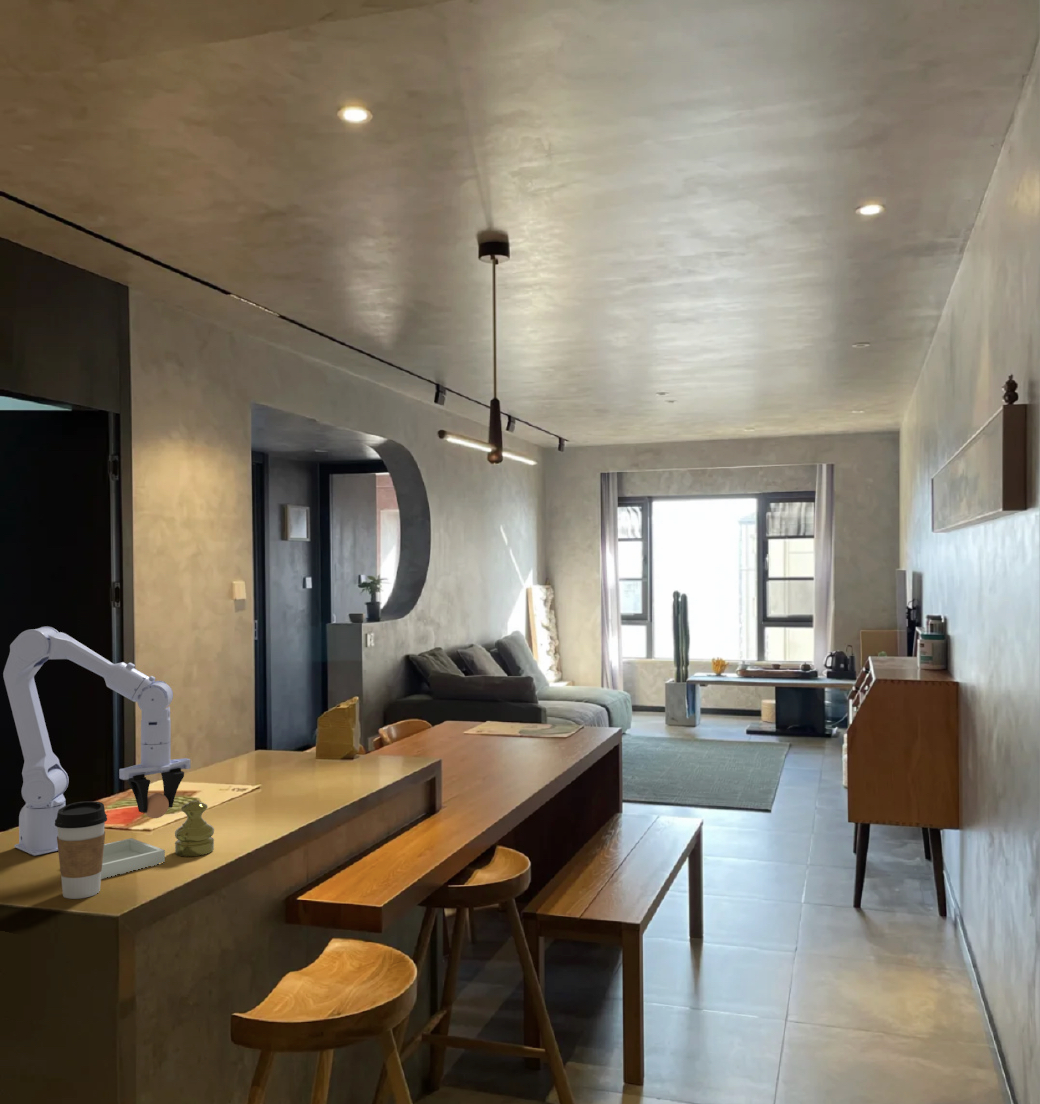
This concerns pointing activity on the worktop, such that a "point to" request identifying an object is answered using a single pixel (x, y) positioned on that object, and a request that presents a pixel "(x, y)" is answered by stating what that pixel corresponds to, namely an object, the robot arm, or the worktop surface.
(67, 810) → the coffee cup
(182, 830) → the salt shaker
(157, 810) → the ball
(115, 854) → the tray
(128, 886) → the worktop surface
